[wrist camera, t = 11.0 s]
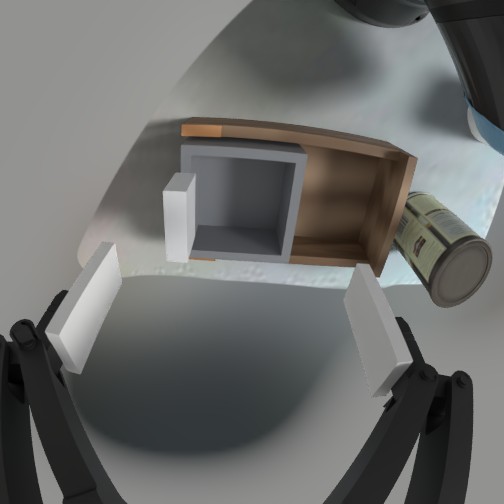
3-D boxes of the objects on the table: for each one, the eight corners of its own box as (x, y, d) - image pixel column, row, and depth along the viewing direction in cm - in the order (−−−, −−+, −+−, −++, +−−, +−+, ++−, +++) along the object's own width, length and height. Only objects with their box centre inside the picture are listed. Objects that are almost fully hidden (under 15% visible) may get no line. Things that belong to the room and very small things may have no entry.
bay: (192, 117, 32) (178, 126, 25) (387, 141, 34) (417, 158, 27) (190, 232, 41) (180, 266, 34) (360, 245, 42) (379, 277, 36)
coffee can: (438, 242, 42) (483, 295, 31) (387, 255, 44) (425, 317, 32) (442, 186, 37) (500, 231, 25) (386, 197, 38) (437, 250, 26)
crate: (188, 132, 32) (162, 158, 22) (295, 140, 33) (319, 169, 22) (188, 227, 38) (169, 284, 28) (281, 233, 39) (294, 292, 29)
